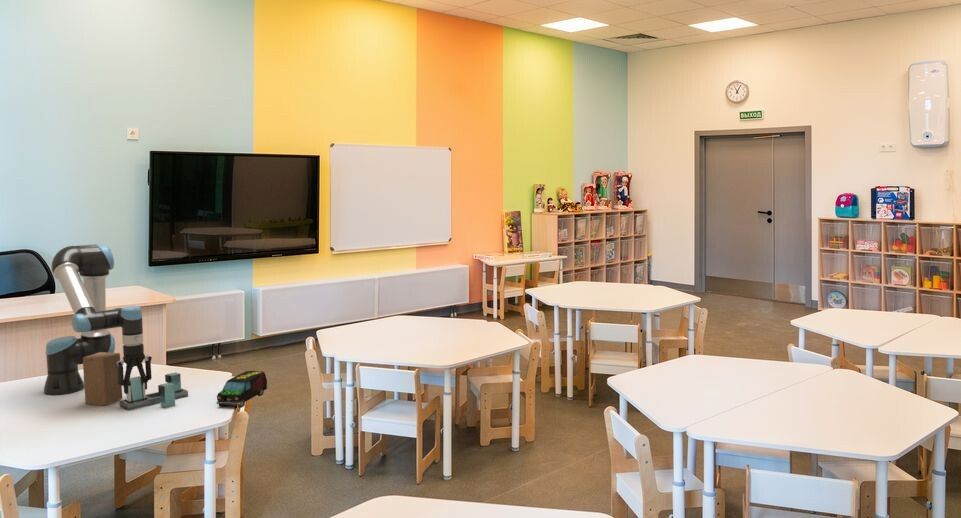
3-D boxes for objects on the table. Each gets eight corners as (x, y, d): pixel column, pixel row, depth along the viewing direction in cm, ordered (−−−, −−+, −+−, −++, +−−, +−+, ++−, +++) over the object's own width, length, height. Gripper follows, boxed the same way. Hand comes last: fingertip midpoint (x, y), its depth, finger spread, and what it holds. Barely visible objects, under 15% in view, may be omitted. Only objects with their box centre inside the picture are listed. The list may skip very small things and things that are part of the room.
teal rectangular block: (128, 400, 283) (126, 379, 282) (141, 396, 287) (138, 376, 286) (133, 402, 281) (130, 381, 279) (145, 398, 284) (142, 377, 283)
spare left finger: (158, 406, 283) (157, 385, 282) (170, 403, 286) (169, 382, 286) (163, 408, 280) (162, 386, 279) (175, 405, 284) (174, 384, 283)
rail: (119, 406, 282) (118, 382, 281) (179, 392, 301) (178, 370, 300) (128, 410, 277) (126, 386, 276) (188, 396, 296) (187, 373, 295)
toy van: (215, 408, 281) (214, 384, 280) (246, 390, 305) (245, 368, 304) (239, 409, 279) (238, 385, 278) (268, 392, 303) (268, 369, 302)
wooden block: (105, 405, 283) (103, 358, 281) (84, 404, 285) (82, 357, 283) (122, 398, 293) (120, 352, 291) (102, 397, 295) (100, 351, 293)
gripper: (113, 349, 272) (117, 406, 274) (159, 341, 285) (162, 396, 288) (106, 346, 277) (109, 402, 279) (151, 339, 290) (154, 392, 293)
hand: (136, 399), depth 283 cm, fingers closed on teal rectangular block, 5 cm apart
